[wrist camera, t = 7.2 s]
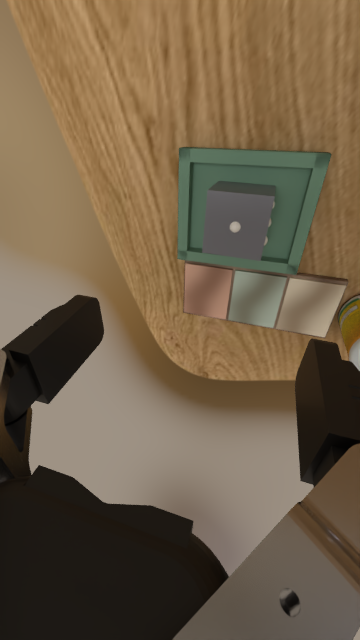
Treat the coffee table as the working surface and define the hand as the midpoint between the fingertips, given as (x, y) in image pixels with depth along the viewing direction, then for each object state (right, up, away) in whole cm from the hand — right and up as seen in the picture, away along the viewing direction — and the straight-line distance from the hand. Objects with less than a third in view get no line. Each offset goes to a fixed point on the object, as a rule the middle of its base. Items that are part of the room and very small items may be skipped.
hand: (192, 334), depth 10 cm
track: (+8, +3, +20) cm, 22 cm away
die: (+5, +11, +15) cm, 19 cm away
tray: (+6, +11, +16) cm, 20 cm away
